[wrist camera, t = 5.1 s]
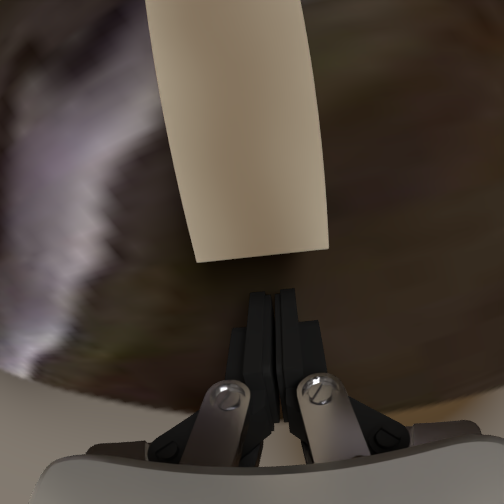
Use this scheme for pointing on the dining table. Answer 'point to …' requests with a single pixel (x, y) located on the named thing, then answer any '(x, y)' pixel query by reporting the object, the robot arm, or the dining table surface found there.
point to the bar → (241, 124)
